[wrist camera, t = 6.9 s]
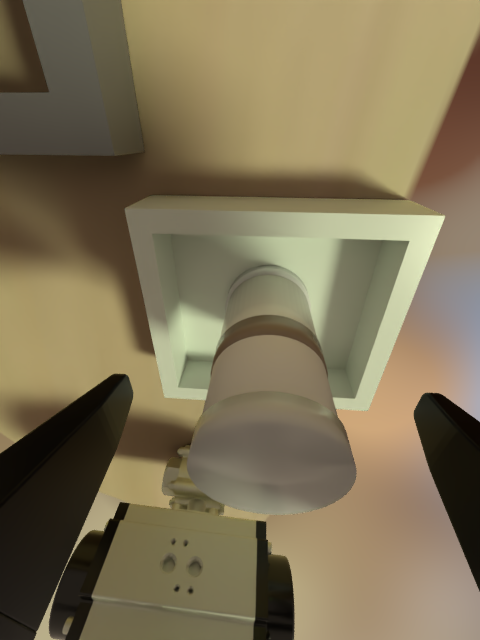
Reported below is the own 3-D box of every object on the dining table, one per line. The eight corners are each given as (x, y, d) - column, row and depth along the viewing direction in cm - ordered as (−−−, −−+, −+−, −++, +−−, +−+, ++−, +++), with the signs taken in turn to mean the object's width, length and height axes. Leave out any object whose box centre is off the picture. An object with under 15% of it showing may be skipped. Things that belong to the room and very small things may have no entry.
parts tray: (177, 363, 16) (164, 397, 14) (151, 195, 11) (124, 208, 9) (353, 373, 16) (368, 411, 14) (409, 199, 11) (445, 215, 9)
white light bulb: (227, 334, 14) (194, 507, 7) (226, 263, 12) (177, 416, 5) (303, 337, 14) (337, 520, 7) (314, 266, 12) (377, 430, 5)
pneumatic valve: (274, 482, 23) (281, 747, 13) (135, 463, 23) (36, 712, 13) (287, 443, 20) (309, 751, 10) (127, 422, 20) (-11, 705, 10)
